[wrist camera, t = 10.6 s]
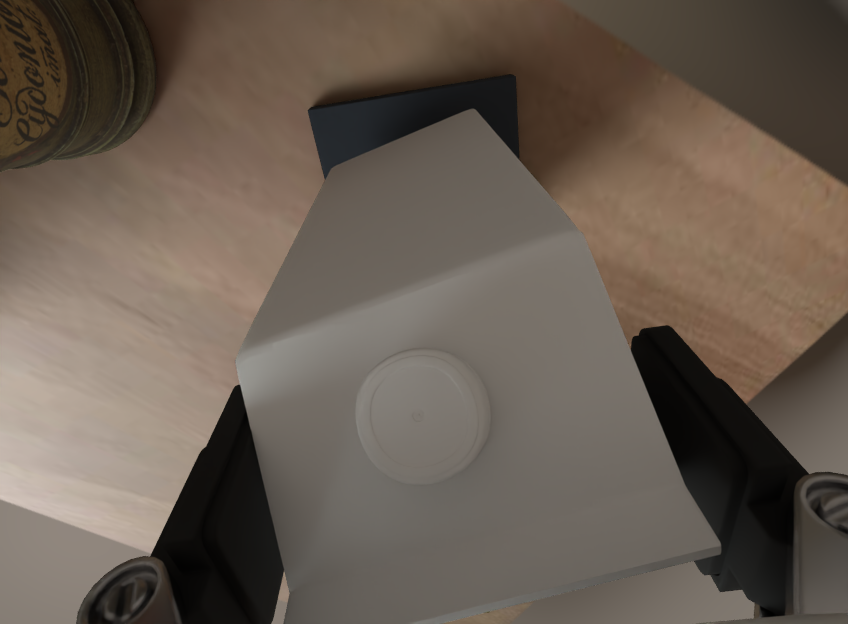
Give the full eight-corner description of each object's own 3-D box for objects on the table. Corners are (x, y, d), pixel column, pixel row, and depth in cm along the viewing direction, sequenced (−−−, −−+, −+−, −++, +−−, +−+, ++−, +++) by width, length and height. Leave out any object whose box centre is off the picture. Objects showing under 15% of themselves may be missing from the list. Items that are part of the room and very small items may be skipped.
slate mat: (354, 284, 29) (353, 292, 28) (310, 106, 24) (307, 109, 23) (520, 259, 29) (524, 266, 28) (511, 74, 24) (515, 75, 23)
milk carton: (517, 244, 25) (736, 660, 9) (390, 290, 26) (369, 738, 10) (474, 105, 21) (700, 361, 5) (330, 166, 23) (136, 537, 6)
